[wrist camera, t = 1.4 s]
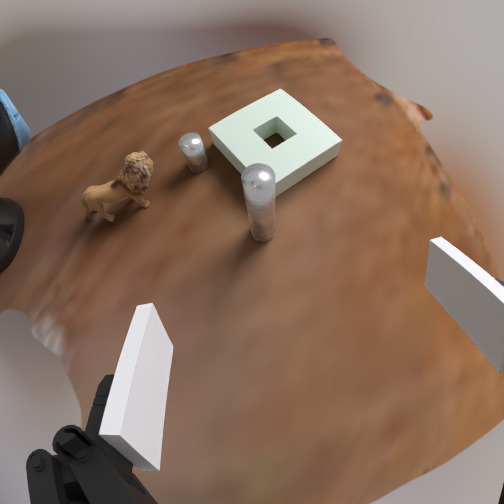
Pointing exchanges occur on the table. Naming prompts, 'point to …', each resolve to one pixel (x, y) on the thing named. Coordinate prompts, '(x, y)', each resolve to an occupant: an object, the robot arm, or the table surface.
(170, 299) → the table surface
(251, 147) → the socket block
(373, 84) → the table surface
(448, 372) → the table surface
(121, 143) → the table surface
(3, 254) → the robot arm
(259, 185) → the tall peg
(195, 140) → the short peg
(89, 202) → the lion figurine
